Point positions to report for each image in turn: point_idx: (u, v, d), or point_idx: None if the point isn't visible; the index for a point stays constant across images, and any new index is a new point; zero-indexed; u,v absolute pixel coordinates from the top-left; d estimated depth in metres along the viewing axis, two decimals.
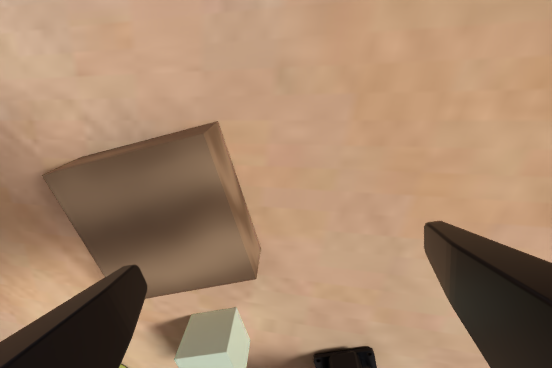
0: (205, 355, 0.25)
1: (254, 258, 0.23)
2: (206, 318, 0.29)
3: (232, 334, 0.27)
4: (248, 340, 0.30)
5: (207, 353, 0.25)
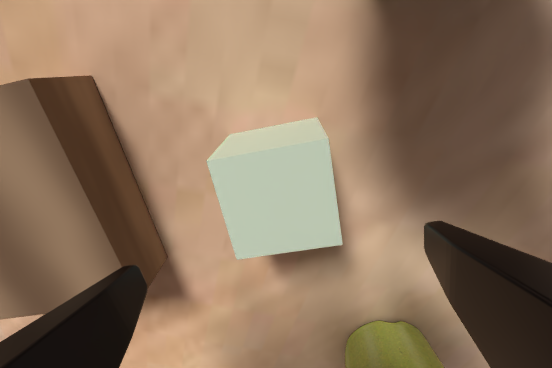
0: (221, 203, 0.12)
1: None
2: None
3: (227, 145, 0.14)
4: (308, 120, 0.15)
5: (219, 198, 0.12)
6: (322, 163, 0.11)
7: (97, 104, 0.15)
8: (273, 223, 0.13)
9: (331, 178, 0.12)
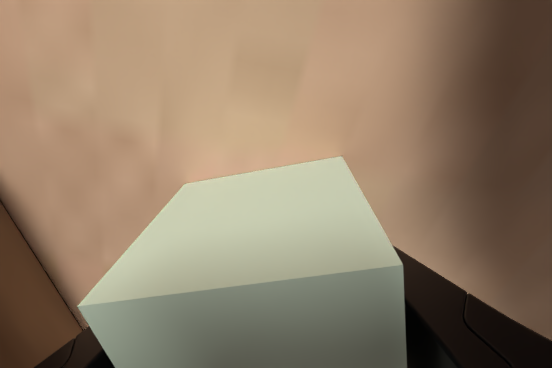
0: None
1: None
2: None
3: (160, 230, 0.06)
4: (327, 163, 0.08)
5: None
6: (380, 320, 0.04)
7: None
8: None
9: (400, 349, 0.05)
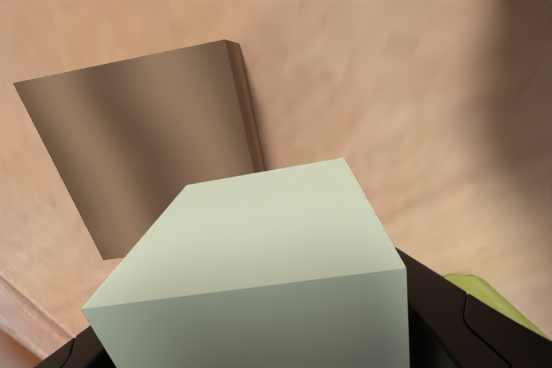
0: None
1: None
2: None
3: (162, 232, 0.06)
4: (329, 165, 0.08)
5: None
6: (384, 323, 0.04)
7: (243, 68, 0.18)
8: None
9: (403, 352, 0.05)
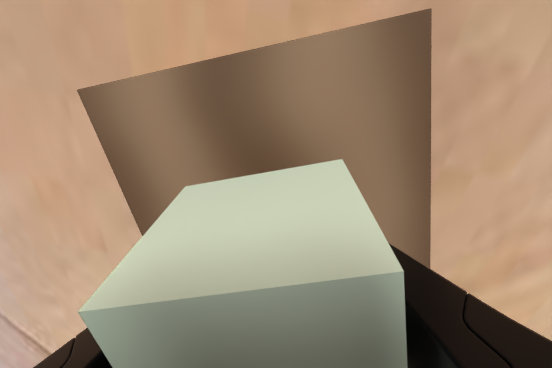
0: None
1: None
2: None
3: (160, 234, 0.06)
4: (327, 166, 0.08)
5: None
6: (381, 326, 0.04)
7: None
8: None
9: (401, 355, 0.05)
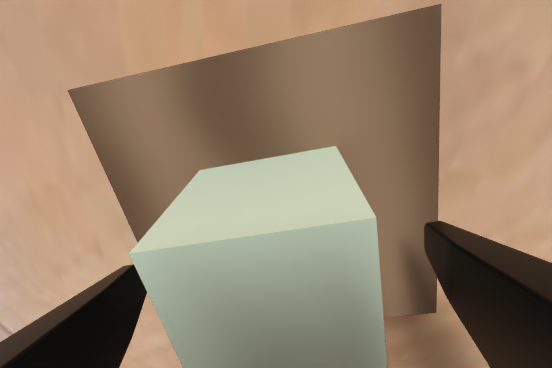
0: (165, 322, 0.07)
1: None
2: None
3: (184, 203, 0.08)
4: (323, 152, 0.09)
5: (161, 313, 0.07)
6: (361, 262, 0.06)
7: None
8: (264, 355, 0.07)
9: (376, 287, 0.06)
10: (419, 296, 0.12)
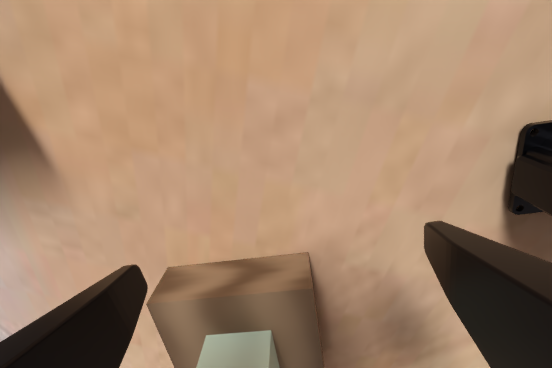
0: None
1: (296, 276, 0.21)
2: None
3: None
4: (264, 336, 0.21)
5: None
6: None
7: (310, 270, 0.23)
8: None
9: None
10: None
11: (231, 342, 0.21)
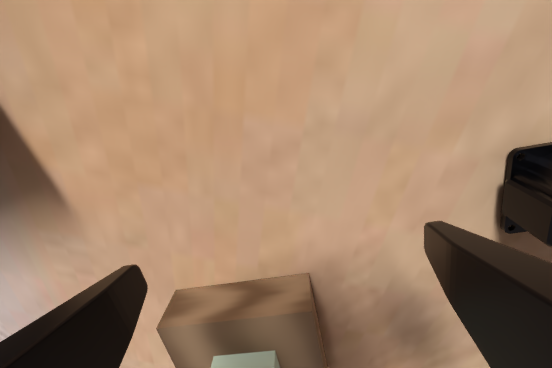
0: None
1: (297, 299, 0.22)
2: None
3: None
4: (268, 356, 0.22)
5: None
6: None
7: (311, 290, 0.24)
8: None
9: None
10: None
11: (237, 363, 0.22)
